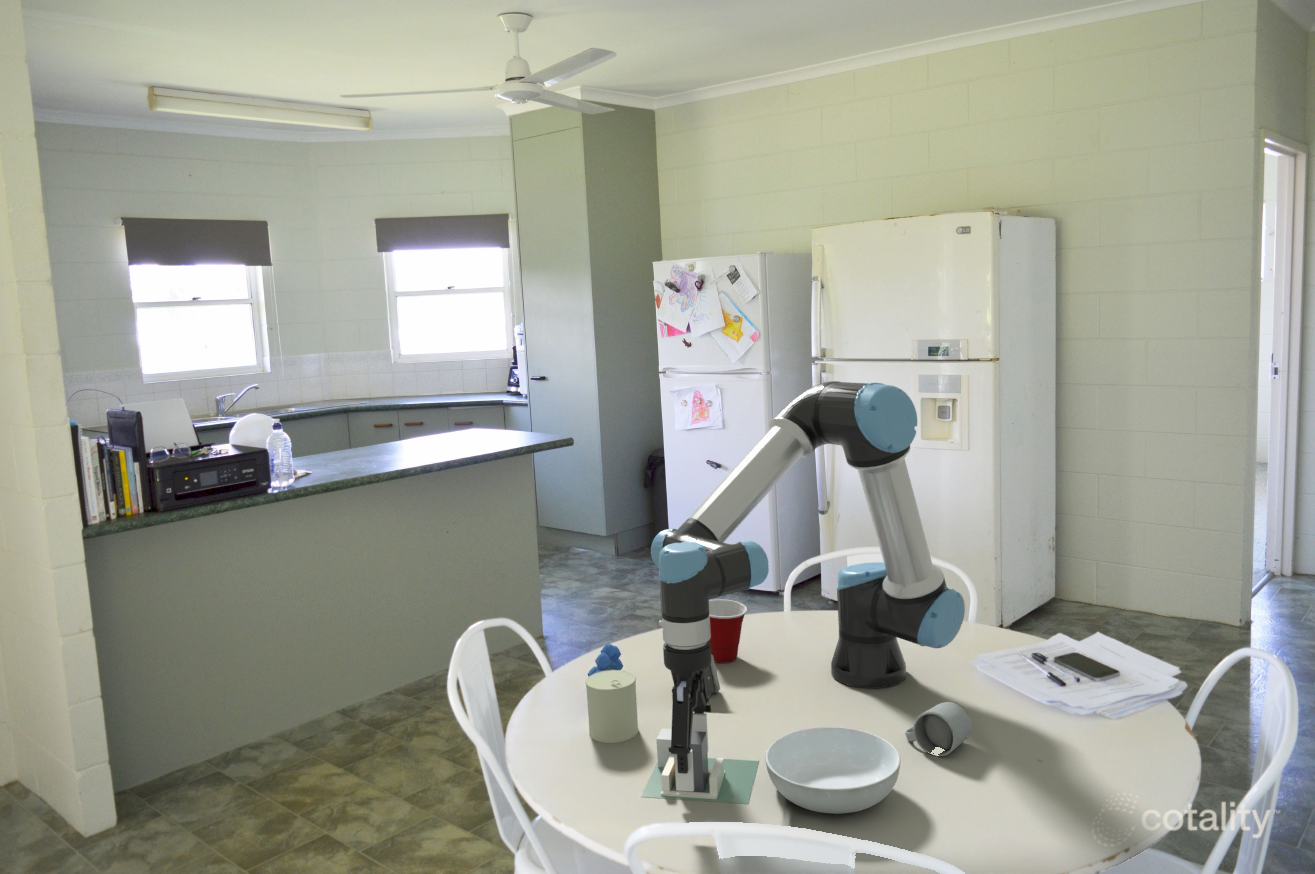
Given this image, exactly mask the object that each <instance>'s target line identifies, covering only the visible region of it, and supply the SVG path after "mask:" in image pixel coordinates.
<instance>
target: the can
mask: <svg viewBox="0 0 1315 874" xmlns="http://www.w3.org/2000/svg"><path fill="white" fill-rule="evenodd" d="M636 679H637V677H636V675H635V674H633V673H632V672H630V671H628V670H627V671H626V670H622V669H621V670H607V671H601V672H598V673H595V674H592V675H591V676H589V677H588V676H587V678H586V679H585V687H586V697H587V698H586V699H587V712H588V713H587V714H588V717H587V718H588V732H589V737H590V739H592V740H594V741H596V742H599V743H604V744H605V743H606V744H615V743H616V744H617V743H624V742H626V741H629V740H631V739H633V738H634V737H636V736H637V734H638V732H639V722H638V721H639V720H638V707H637V705H638V704H637V687H636V686H637V685H636Z"/></svg>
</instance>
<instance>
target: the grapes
mask: <svg viewBox="0 0 1315 874" xmlns="http://www.w3.org/2000/svg"><path fill="white" fill-rule="evenodd" d="M621 655H622V653H621V651H620V649H619V647H618V646H616V645H613V644H611V643H607V644H605V645H604V646H603V647H602V649H601V650H600V653H599V654H598V655H597V657H596V659H595V660H594V662H595V665H596V666H593V667H592V668H591V669H590V670H589V671H588V673H587V678H588V677H589V676H591V675H592V674H595V673H598V672H601V671H607V670H622V669H623V667H624V665H623V661H622V660H621V659H620V657H621Z"/></svg>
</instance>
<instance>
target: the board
mask: <svg viewBox="0 0 1315 874" xmlns="http://www.w3.org/2000/svg"><path fill="white" fill-rule="evenodd" d="M759 762H760V761H759V760H752V759H750V760H748V759H735V758H734V759H733V758H732V759H729V758H724V757H716V758H714V757H708V773H709V779H708V782H707V785H706V788H705V790H704V792H693V791H678V790H676V781H675V766H674V755H670V757H669V759H668V761H667V763H666V766H665V768H663V767H658V761H657V762H656V764H655V767H654V768H653V771H651V772H652V773H651V775H650V777H649V780H648V781H647V783H646V786H645V788H644V790H643V792H642V794H641V796H640V798H648V799H650V798H652V799H664V800H666V799H667V800H679V801H680V800H682V801H692V802H696V801H697V802H708V803H709V802H710V803H723V804H724V803H725V804H740V805H741V804H742V805H749V803H750V798H751V795H752V791H753V787H754V783H755V779H756V775H757V771H758V769H759V768H758V766H759V764H760V763H759Z"/></svg>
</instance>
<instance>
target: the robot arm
mask: <svg viewBox="0 0 1315 874" xmlns="http://www.w3.org/2000/svg"><path fill="white" fill-rule="evenodd" d="M917 413H918V412H917V410H916V407H915V405H914V402H913V400H912V399H911V397H910V396H909V395H908V393H906V392H905V391H904V390H903V389H902V388H899V387H898V386H895V385H892V384H891V385H889V384H886V383H881V382H880V383H879V382H870V383H867V382H866V383H864V382H847V381H846V382H844V381H832V380H831V381H825V382H822V383H819V384H815V385H814V386H811V387H810V388H808V389H807V390H804V391H803V392H801V393H800V394H799V395H798V396H795V398H794V399H792V400H791V401H789V402H788V403H787V404H786V405H785V406H784V407H783V408H782V409H781V410H780V411H778V413H777V414H775V416H774V417H773V418H772V419H771V420H770V422H769V424H768V426H769V430H768V431H767V433H765V434H764V436H763V437H761V438H760V440H759V441H758V442H757V443H756V444H755V445H754V446H753V447H752V449H750V451H749V452H748V453H747V454H746V455H745V456H744V457H743V459H741V460H740V462H738V463H737V465H736V466H735V467H734V468H733V469H732V470H731V471H729V473H728V475H726V477H724V479H723V480H722V481H721V482H720V483H718V485H717V486H716V487H715V489H714V490H712V492H711V493H709V494H708V496H707V497H706V498H705V499H704V500H703V502H701V504H700V505H699V506H698V507H697V508H696V509H695V510H694V511H693V512H692V513H691V514H690V516H689V517H688V518H687V519H686V520H685V521H684V522H683V523H682V524H681V525H680V526H679V527H678V528H677V529H676V528H668V529H664V530H661V531H659V532H658V534H656V535H655V537H654V538H653V540H652V542H651V547H650V555H651V560H652V561H653V563H654V565H655V566H656V567H657V568H658V574H657V575H658V580H659V592H660V609H661V611H660V612H661V620H659V621H658V626H659V627H662V640H663V642H664V643H663V644H662V649H663V664H664V667H666V669H667V670H669V671H670V672H671V671H674V672H675V673H677V679H675V680H674V682H673V686H672V688H671V697H672V707H671V709H672V712H671V729H672V733H671V747H669V752H671V754H674V757H675V776H676V790H678V791H694V772H693V752H692V749H691V735H692V731H699V732H707V752H708V753H709V734H708V733H709V732H708V716H707V713H712V705H709V704H708V703H709V701H710V699H709V698H708V693H707V686H706V680H705V673H704V669H706V668H708V667H709V666H710V664H711V643H710V642H709V639H710V638H711V633H710V615H709V600H714V599H716V598H719V597H723V596H727V595H731V594H734V593H738V592H742V591H748V590H749V589H751V588H754V587H756V586H759V585H761V584H763V583H764V582H765V580H766V579H767V578H768V574H769V571H770V568H769V567H770V566H769V558H768V555H767V553H766V551H765V550H764V548H763V547H762V546H761V545H760V544H759V543H757V542H756V541H752V540H751V541H750V540H747V541H738V542H737V543H733V544H732V543H725V542H726V541H727V540H728V539H729V537H730V536H731V535H732V534H733V533H734V532H735V531H736V529H737V528H738V527H739V526H741V524H742V523H743V522H744V521H745V520H746V519H747V517H748V516H749V515H750V514H751V513H752V512H753V511H754V510H755V508H757V506H758V505H759V504H760V503H761V502H762V501H763V499H764V498H765V497H766V496H767V495H768V493H769V492H771V491H772V490H773V489H774V487H775V486H776V485H777V484H778V482H780V481H781V480H782V479H783V477H784V476H785V475H786V474H787V472H788V471H790V469H791V468H792V467H793V466H794V465H795V464H796V463H797V462H798V460H799V459H801V458H807V457H809V456H810V455H812V453H813V452H814V451H815V450H816V449H818V448H819V447H821V446H824V445H833V446H834V445H836V446H840V447H842V449H843V453H844V457H845V460H846V464H847V465H848V466H849V467H851V468H854V469H856V470H857V471H858V475H859V479H860V482H861V485H862V489H863V493H864V496H865V499H866V503H867V506H868V507H867V508H868V510H869V513H870V517H871V522H872V525H873V528H874V532H875V534H876V540H877V543H878V546H879V549H880V554H881V556H882V560H883V562H879V561H878V562H877V561H874V562H863V563H857V564H852V565H849V566H845V567H844V568H842V569H841V570H840V571H839V572H838V574H837V587H836V591H837V595H836V596H837V616H838V617H837V618H838V619H837V620H838V638H837V639H838V640H837V643H836V646H835V648H834V649H835V650H834V652H833V656H832V659H831V662H830V663H831V665H830V672H831V677H832V678H833V679H834V680H835V681H838V682H839V683H841V684H844V685H847V686H851V687H854V688H863V689H881V688H887V687H888V688H889V687H892V686H895V685H899V684H900V683H902V682H903V681H904V680H905V679H906V677H907V665H906V661H905V658H904V656H903V653H902V650H901V647H900V644H899V642H898V639H900V640H904V641H907V642H910V643H913V644H916V645H919V646H920V647H928V648H931V649H932V648H933V649H941V648H944V647H947V646H948V645H949V644H951V643H952V642H953V641H954V639H955V638H956V637H957V635H958V633H959V632H960V631H961V627H962V625H963V623H964V619H965V613H966V604H965V600H964V597H963V595H962V594H961V592H959V591H956V589H953V588H950V589H949V588H948V587H947V583H946V579H945V575H944V572H943V570H942V569H941V568H940V567H939V566H936V565H934V564H933V562H932V557H931V554H930V550H929V546H928V543H927V539H926V535H925V532H924V528H923V524H922V523H923V522H922V520H921V515H920V512H919V509H918V508H919V507H918V505H917V500H916V497H915V492H914V490H913V489H914V488H913V486H912V483H911V482H912V481H911V477H910V473H909V470H908V466H907V462H906V459H905V458H906V457H907V455H908V454H909V452H910V450H911V444H912V443H913V441H914V439H915V437H916V435H917V430H916V427H918V414H917Z"/></svg>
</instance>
